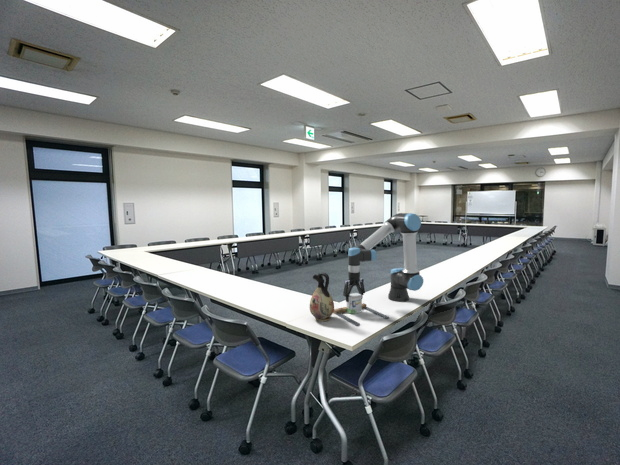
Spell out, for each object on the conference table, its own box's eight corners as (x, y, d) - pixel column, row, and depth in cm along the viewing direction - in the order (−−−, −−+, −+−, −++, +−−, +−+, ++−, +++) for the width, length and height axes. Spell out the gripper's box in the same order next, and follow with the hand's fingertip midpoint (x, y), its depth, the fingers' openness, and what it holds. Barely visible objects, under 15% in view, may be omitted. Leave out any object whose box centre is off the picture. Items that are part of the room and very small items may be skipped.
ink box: (357, 309, 200) (357, 292, 199) (361, 312, 196) (361, 294, 195) (346, 311, 197) (346, 294, 196) (350, 314, 192) (350, 296, 191)
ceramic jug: (304, 319, 186) (303, 271, 183) (321, 312, 197) (321, 268, 194) (324, 326, 174) (324, 276, 171) (341, 319, 184) (341, 271, 182)
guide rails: (366, 308, 205) (366, 306, 205) (388, 318, 185) (388, 316, 185) (335, 314, 193) (335, 312, 193) (356, 326, 174) (356, 324, 174)
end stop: (363, 306, 207) (363, 303, 207) (366, 308, 205) (366, 304, 205) (333, 313, 196) (333, 309, 196) (335, 314, 193) (335, 310, 193)
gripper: (363, 268, 202) (363, 301, 204) (337, 272, 192) (337, 306, 194) (370, 270, 196) (370, 304, 198) (343, 274, 186) (343, 309, 188)
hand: (354, 305), depth 196 cm, fingers closed on ink box, 9 cm apart
